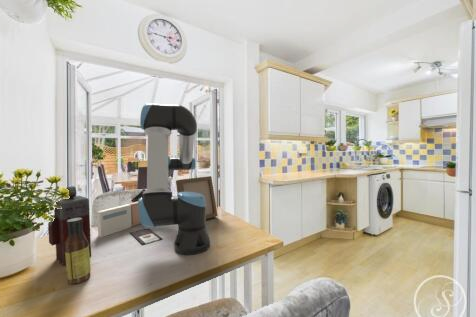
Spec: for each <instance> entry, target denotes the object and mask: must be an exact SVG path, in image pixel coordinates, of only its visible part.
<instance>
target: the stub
mask: <svg viewBox="0 0 476 317" xmlns="http://www.w3.org/2000/svg"><path fill="white" fill-rule="evenodd" d="M128 204H130V205H132V227H134V226H137V225H140V224H141V221H140V217H139V211H138V201H137V202H133V203H132V202H130V203H128Z"/></svg>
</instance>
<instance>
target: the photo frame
mask: <svg viewBox="0 0 476 317" xmlns="http://www.w3.org/2000/svg"><path fill="white" fill-rule="evenodd" d="M212 178H213V177H212V176H211V175H210V176H200V177H191V178H183V179H177V180H175V186H176V192H177V194H178V193H179V192H196V193H200V194H202V195H204V197H205V204H206V207H205V211H206V220H208V219H212V218H217V217H218V210H217V209H218V208H217V203H216V197H215V191H214V185H213V179H212ZM177 194H176V195H177Z"/></svg>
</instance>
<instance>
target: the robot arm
mask: <svg viewBox="0 0 476 317" xmlns="http://www.w3.org/2000/svg"><path fill="white" fill-rule="evenodd" d="M139 117H140V118H139V119H140V122H139V123H140V124H139V125H140V129H141V130H143V132H144V134H145V135H146V136H147V156H146V157H147V158H146V159H147V161H146V162H147V163H146V164H147V166H146V179H147V180H146V189H145V188H143V189H142V190H141V191H140V192H139V193H138V194H137V195H135V196H134V197H133V198H131V200H130V201H131V203H133V202H137V201H138V211H139V217H140V221H141V223H140V224H141V226H143V227H145V228H151V227H152V228H157V227H163V226H164V227H165V226H167V227H168V226H174V225H177V233H176V236H175V239H174V243H173V246H174V248H173V249H174V251H175V252H176V253H178V254H180V255H189V256H190V255H197V254H200V253H203V252H205V251H207V250H208V249H209V248H210V247H211V240H210V239H211V238H210V236H209V233H208V229H207V227H206V226H207V222H206V221H207V219H206V211H205V207H206V204H205V197H204V195H202V194H200V193H196V192H179V193H178V194H176V195H175V196H173V191H172V190H171V189H170V188H169V178H170V177H171V175H172V174H173V172H174V171H190V170H191V171H192V170H195V169H196V158H195V157H193V156H194V146H195V145H194V144H195V143H194V142H195V134H196V133H197V130H198V129H197V128H198V124H197V120H196V118H195V116H194V114H193V113H192V112H191V111H190V110H189V109H188V108H187V107H185V106H183V105H181V104H163V103H161V104H160V103H145V104H144V105H143V106H142V108H141V112H140V116H139ZM172 131H177V132H178V136H179V138H178V139H179V142H178V143H179V147H178V148H179V157H170V156H169V137H170V136H171V134H172Z"/></svg>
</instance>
